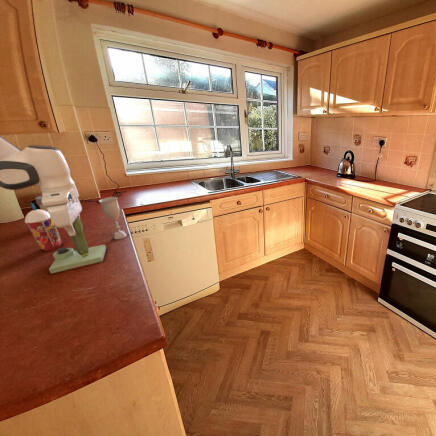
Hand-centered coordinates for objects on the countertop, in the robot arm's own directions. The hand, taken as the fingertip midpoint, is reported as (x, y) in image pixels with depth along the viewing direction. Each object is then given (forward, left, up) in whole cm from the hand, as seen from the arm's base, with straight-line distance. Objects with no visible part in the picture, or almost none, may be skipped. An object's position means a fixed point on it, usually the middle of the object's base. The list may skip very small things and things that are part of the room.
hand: (76, 230), depth 89 cm
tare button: (-7, +5, -10) cm, 13 cm away
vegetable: (0, 0, -11) cm, 11 cm away
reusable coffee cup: (-19, +58, -13) cm, 62 cm away
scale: (-2, +2, -13) cm, 13 cm away
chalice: (+10, +18, -13) cm, 24 cm away
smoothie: (-15, +22, -13) cm, 29 cm away
